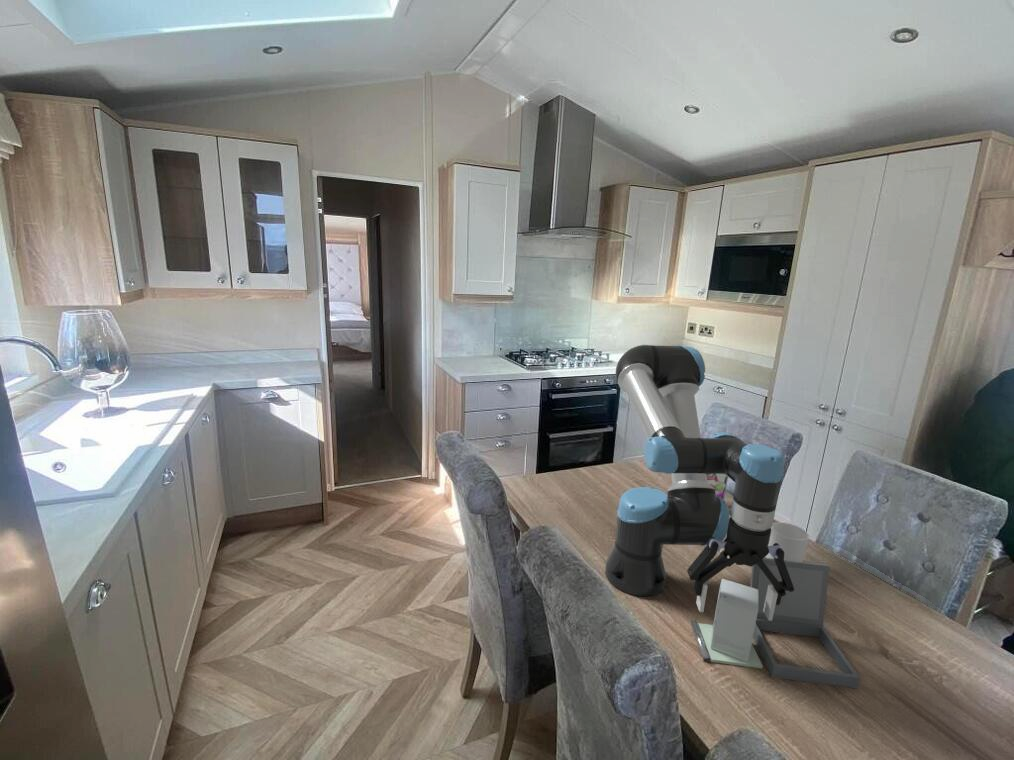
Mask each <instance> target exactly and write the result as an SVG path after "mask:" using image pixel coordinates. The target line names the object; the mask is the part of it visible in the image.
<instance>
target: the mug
mask: <svg viewBox="0 0 1014 760" xmlns="http://www.w3.org/2000/svg"><path fill="white" fill-rule="evenodd" d="M809 537H810V535H809V534H808V532H807V531H806V530H805V529H803V528H802V527H800V526H798V525H795V524H793V523H789V522H782V521H781V522H779V521H777V522H773V525H772V527H771V535H770V540H769V544H768V546H773V544H774V543H778V544H779V545H780V547H781V548H782V550H783V551H784V560H790V561H800V562H805V561H804V559H805V555H806V552H807V550H808V548H809V543H810V538H809ZM765 558H771V559H774V557H772V555H771V554H770V553H768V555H767V556H765Z"/></svg>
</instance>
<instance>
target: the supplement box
mask: <svg viewBox="0 0 1014 760" xmlns="http://www.w3.org/2000/svg"><path fill="white" fill-rule="evenodd" d="M758 608H759V593H758V589H755V588H752V587H750V586H748V585H745V584H741V583H738V582H735V581H731V580H727V579H725V578H721V581H720V585H719V589H718V596H717V602H716V607H715V613H714V620H713V623H712V625H713V629H712V637H711V647H710V648H711V649H714V650H716V651H719V652H722V653H724V654H727V655H729V656H732V657H735V658H737V659H740V660H743V661H746V662H748V660H749V655H750V650H751V645H753V640H754V639H753V635H754V629H755V624H756V619H757V614H758Z"/></svg>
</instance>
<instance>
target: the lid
mask: <svg viewBox="0 0 1014 760" xmlns="http://www.w3.org/2000/svg"><path fill="white" fill-rule="evenodd" d="M762 560H763V561H764V563H765V564H766V565H767V567H768V568H769V569H770V571H771V572H772V573H773V575H774V576H775V577H776V579H777V580H778V581H779V582H780V581H782V579H781V576H780V573H779V571H778V568H777V565H776V563H775V560H774V559H771V558H766V557H764V558H763V559H762ZM784 562H785V565H786V568H787V570H788V573H789V576H790V578H791V581H792V584H793V587H794V591H792V592H789V591H785V592H786V595H785V596H782V597H781V601H780V604H779V605H775V609H774V614H773V620H781V621H789V622H798V623H806V624H814V625H822V626H824V623H825V622H824V620H825V611H826V603H827V593H828V587H829V586H828V585H829V576H830V575H829V574H830V565H829V564H825V563H816V562H807V561H803V562H800V561H790V560H784ZM750 575H751V576H750V585H749V587H752V588H755V589H758V593H759V608H758V614H757V618H765V619H767V617H766V615H765V614H764V612H763V608H764V604H765V599H766V594H767V589H768V585H772V583H771V582H770V581H769V579H768V578H767V577H766V575H765V574H764V572H763V571H762V570H761V569H760V567H759V566H758V565H757V564H755V565H753V566H751V574H750Z"/></svg>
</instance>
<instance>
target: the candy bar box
mask: <svg viewBox="0 0 1014 760" xmlns="http://www.w3.org/2000/svg"><path fill="white" fill-rule="evenodd" d="M706 476H707V482H708V483H709V484H710V485H711V486H712V487H714V488H715V492H716V497H720V498H722V499H723V500H724V501H725V499H726V498H725V497H726V492H727V485H728V479H729V477H728V476H727V475H726V474H706Z"/></svg>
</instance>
